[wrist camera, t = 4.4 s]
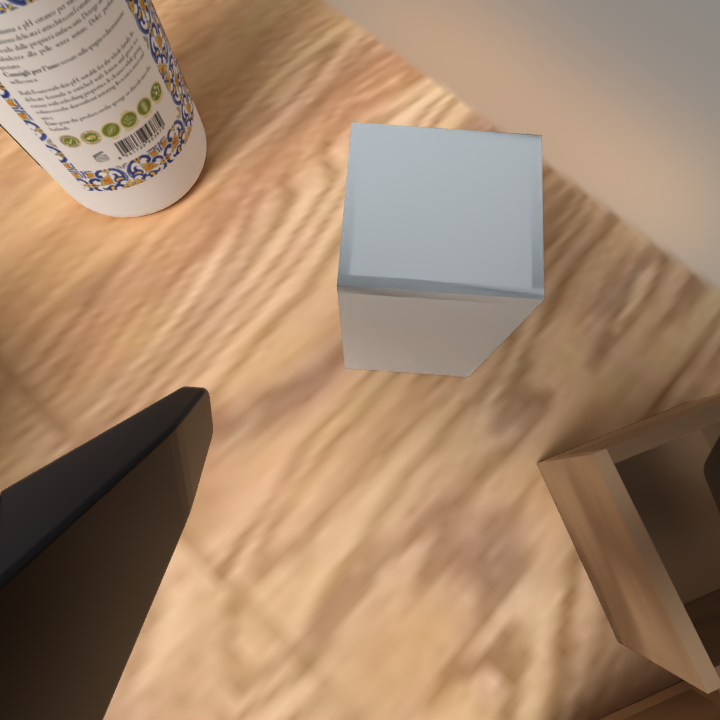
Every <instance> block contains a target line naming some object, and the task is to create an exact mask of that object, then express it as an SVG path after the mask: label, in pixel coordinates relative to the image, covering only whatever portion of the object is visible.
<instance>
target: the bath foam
mask: <svg viewBox="0 0 720 720" xmlns="http://www.w3.org/2000/svg"><path fill="white" fill-rule="evenodd" d="M0 126H1V127H2V128H3V129H4V130H5V131H6V132H7V133H8V134H9V135H10V136H11V137H12V138H13V139H14V140H15V141H16V142H17V143H18V144H19V145H20V146H21V147H22V148H23V149H24V150H25V151H26V152H27V153H28V154H29V155H30V156H31V157H32V158H33V159H34V160H35V161H36V162H37V163H38V164H39V165H41V166H42V167H43V168H44V169H45V170H46V171H47V172H48V173H49V174H50V175H51V176H52V177H53V178H54V179H55V181H56V182H57V183H58V184H59V185H60V186H61V187H62V188H63V189H64V190H65V191H66V192H67V193H68V194H69V195H70V196H71V197H73V198H74V199H75V200H76V201H77V202H79V203H80V204H82V205H83V206H85V207H86V208H88V209H90V210H92V211H95V212H97V213H100V214H103V215H107V216H113V217H125V218H127V217H139V216H144V215H148V214H152V213H155V212H158V211H160V210H162V209H164V208H166V207H168V206H170V205H172V204H173V203H175V202H176V201H178V200H179V199H180V198H181V197H182V196H184V195H185V194H186V193H187V192H188V191H189V190H190V188H191V187H192V186H193V185H194V183H195V182H196V180H197V179H198V177H199V175H200V173H201V171H202V168H203V166H204V162H205V158H206V151H207V142H206V134H205V130H204V127H203V124H202V121H201V119H200V116H199V114H198V111H197V109H196V107H195V104H194V102H193V99H192V97H191V94H190V91H189V89H188V87H187V84H186V82H185V79H184V77H183V75H182V72H181V70H180V68H179V65H178V63H177V60H176V58H175V56H174V53H173V51H172V48H171V46H170V44H169V41H168V39H167V37H166V34H165V32H164V29H163V27H162V25H161V22H160V20H159V18H158V15H157V13H156V10H155V8H154V6H153V3H152V1H151V0H0ZM41 166H40V167H41ZM42 167H41V168H42ZM43 168H42V169H43ZM44 169H43V170H44Z"/></svg>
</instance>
